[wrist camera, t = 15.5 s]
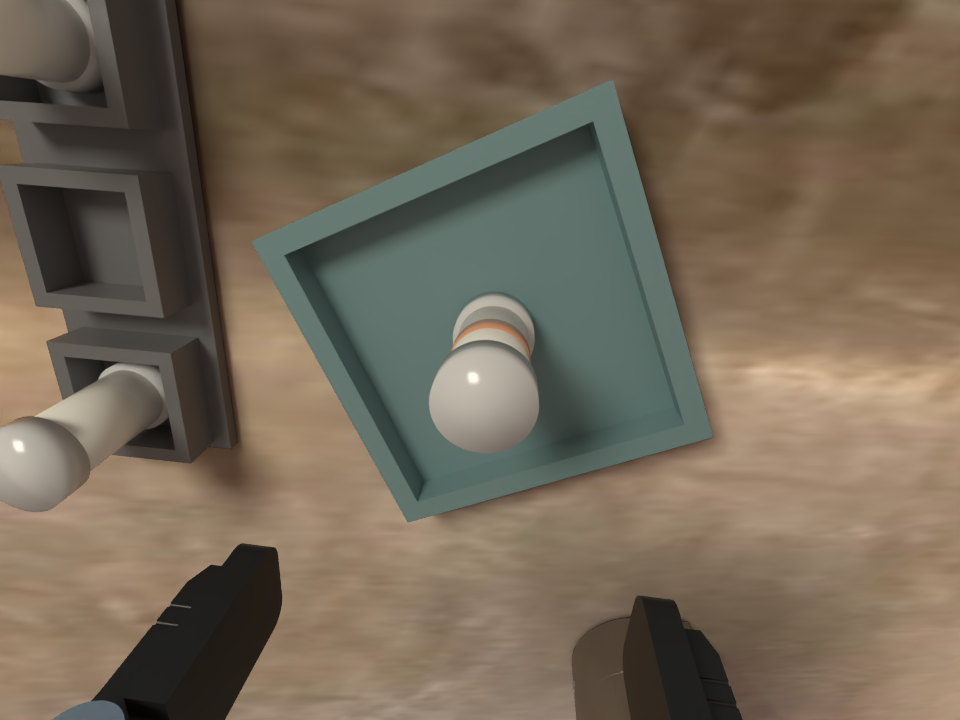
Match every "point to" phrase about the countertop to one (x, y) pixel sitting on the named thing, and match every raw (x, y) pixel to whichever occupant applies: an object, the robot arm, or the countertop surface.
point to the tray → (509, 269)
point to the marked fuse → (487, 377)
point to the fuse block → (123, 226)
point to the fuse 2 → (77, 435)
